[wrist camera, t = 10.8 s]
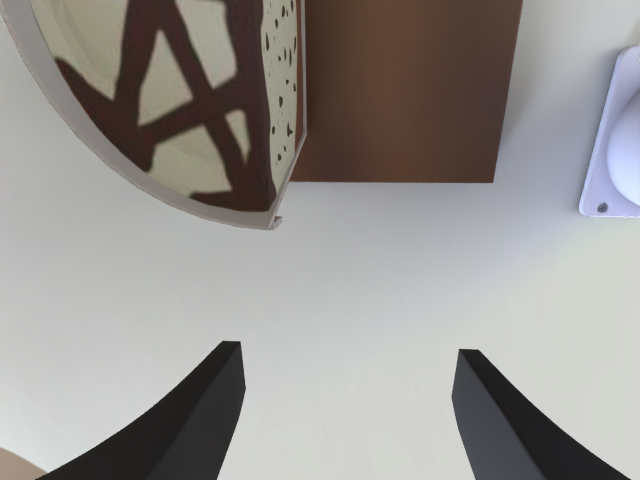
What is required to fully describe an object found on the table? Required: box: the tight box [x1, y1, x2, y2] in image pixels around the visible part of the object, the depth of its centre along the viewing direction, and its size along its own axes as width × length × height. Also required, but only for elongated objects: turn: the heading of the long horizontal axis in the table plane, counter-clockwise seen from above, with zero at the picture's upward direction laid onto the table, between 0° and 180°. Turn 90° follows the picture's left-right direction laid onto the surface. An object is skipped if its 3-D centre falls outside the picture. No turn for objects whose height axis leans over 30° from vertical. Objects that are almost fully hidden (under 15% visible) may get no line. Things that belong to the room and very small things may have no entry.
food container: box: [0, 0, 307, 230], centre depth 13 cm, size 12×6×10 cm, turn 0°
